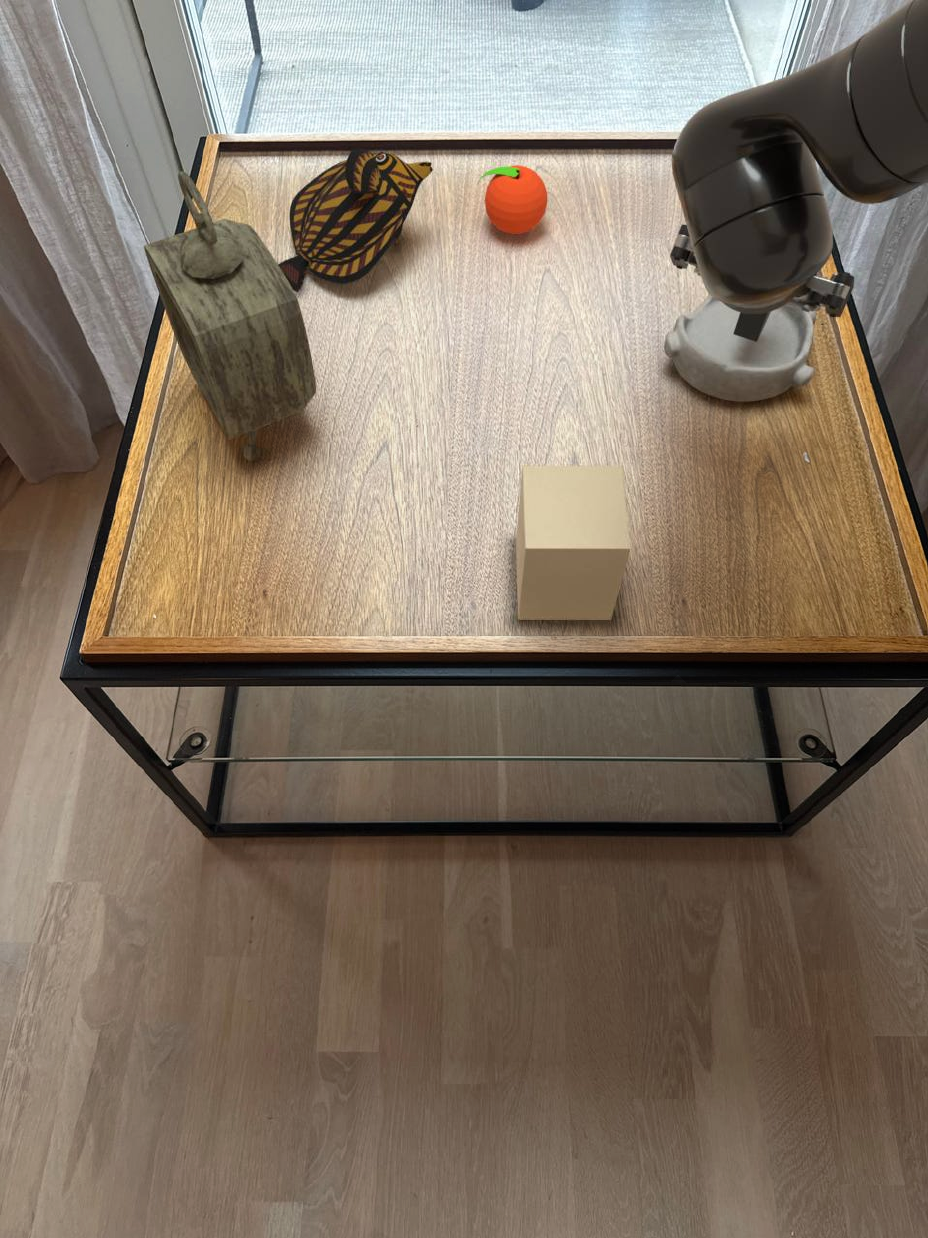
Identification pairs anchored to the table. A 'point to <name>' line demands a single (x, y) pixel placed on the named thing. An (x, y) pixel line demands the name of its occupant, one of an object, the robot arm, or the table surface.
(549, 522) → the stand
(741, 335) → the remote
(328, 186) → the decorative fish sculpture
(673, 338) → the dish
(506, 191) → the clementine
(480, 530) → the table surface
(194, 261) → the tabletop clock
